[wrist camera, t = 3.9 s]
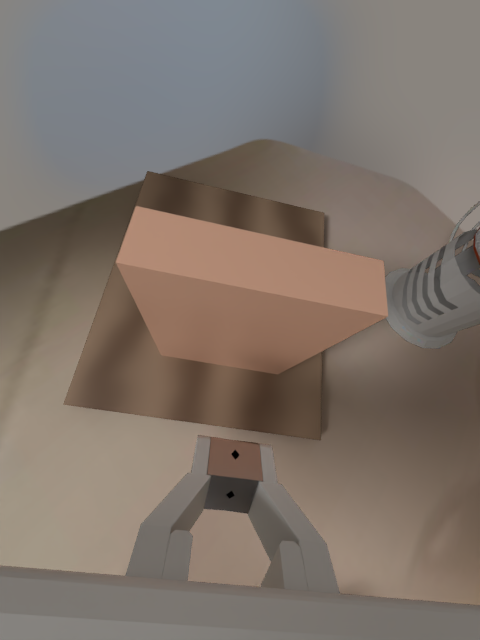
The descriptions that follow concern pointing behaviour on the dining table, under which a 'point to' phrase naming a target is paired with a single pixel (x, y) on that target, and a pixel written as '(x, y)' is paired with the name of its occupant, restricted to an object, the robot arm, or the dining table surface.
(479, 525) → the dining table surface
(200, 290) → the tile
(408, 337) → the french press
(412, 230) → the dining table surface
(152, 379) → the board
